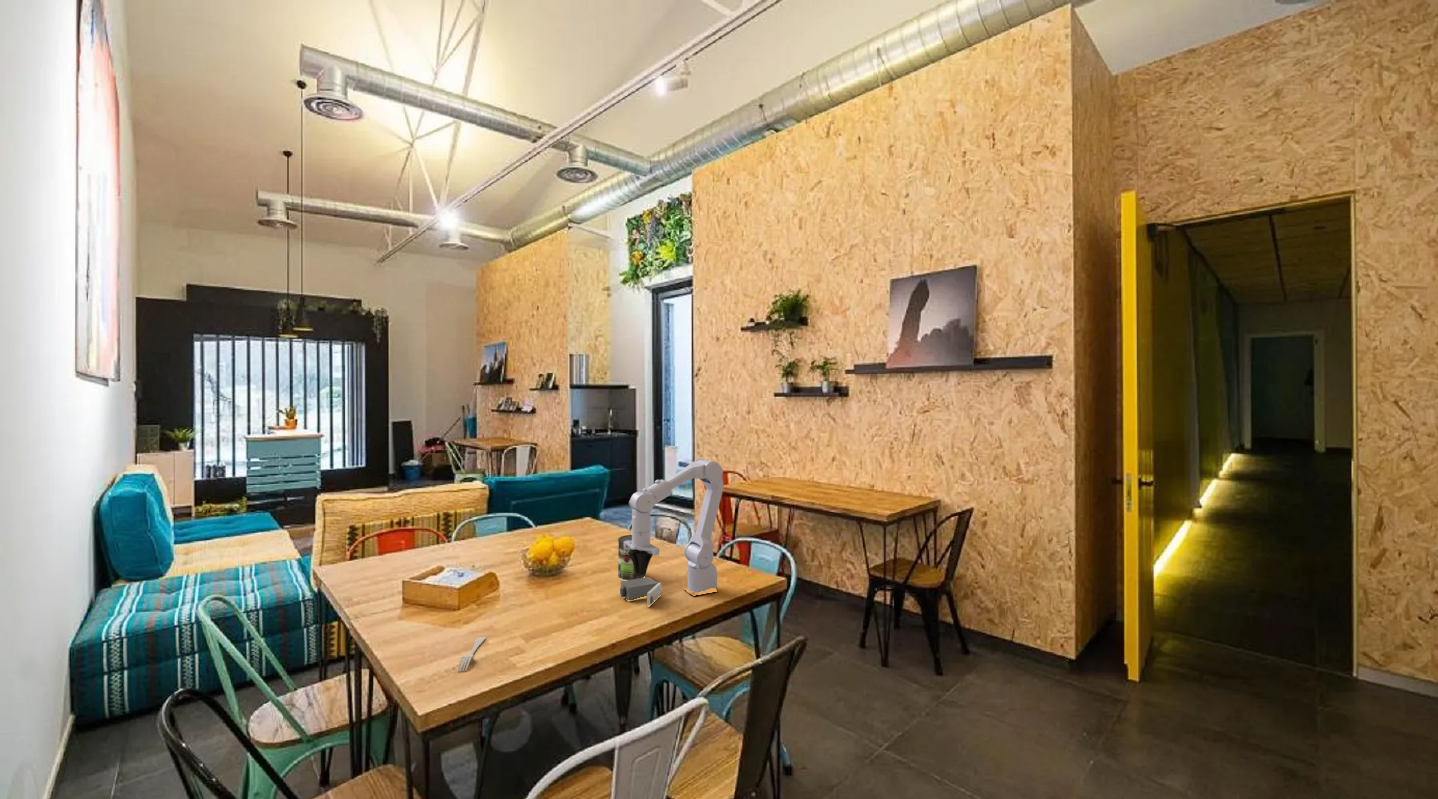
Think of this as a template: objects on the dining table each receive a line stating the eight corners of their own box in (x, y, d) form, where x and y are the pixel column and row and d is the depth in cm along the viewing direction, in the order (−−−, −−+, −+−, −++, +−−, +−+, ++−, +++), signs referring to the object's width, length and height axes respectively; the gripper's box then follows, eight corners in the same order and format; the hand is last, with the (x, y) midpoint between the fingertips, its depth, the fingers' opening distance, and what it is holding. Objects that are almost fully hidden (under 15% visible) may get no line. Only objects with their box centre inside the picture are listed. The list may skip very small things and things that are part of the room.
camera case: (649, 590, 199) (649, 576, 199) (657, 596, 193) (657, 583, 193) (617, 595, 193) (617, 581, 193) (625, 602, 187) (625, 588, 187)
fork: (487, 646, 161) (488, 636, 161) (466, 675, 141) (467, 663, 141) (476, 647, 161) (477, 636, 161) (454, 676, 140) (454, 663, 140)
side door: (658, 595, 193) (659, 582, 193) (663, 596, 193) (663, 582, 193) (646, 607, 183) (647, 593, 183) (651, 607, 183) (651, 593, 183)
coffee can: (639, 583, 205) (639, 543, 205) (612, 580, 208) (613, 540, 208) (651, 574, 215) (651, 535, 215) (625, 571, 218) (625, 533, 218)
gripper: (616, 529, 188) (615, 571, 188) (647, 537, 179) (647, 581, 179) (633, 525, 193) (632, 566, 194) (664, 532, 184) (663, 576, 184)
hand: (640, 573), depth 187 cm, fingers closed
